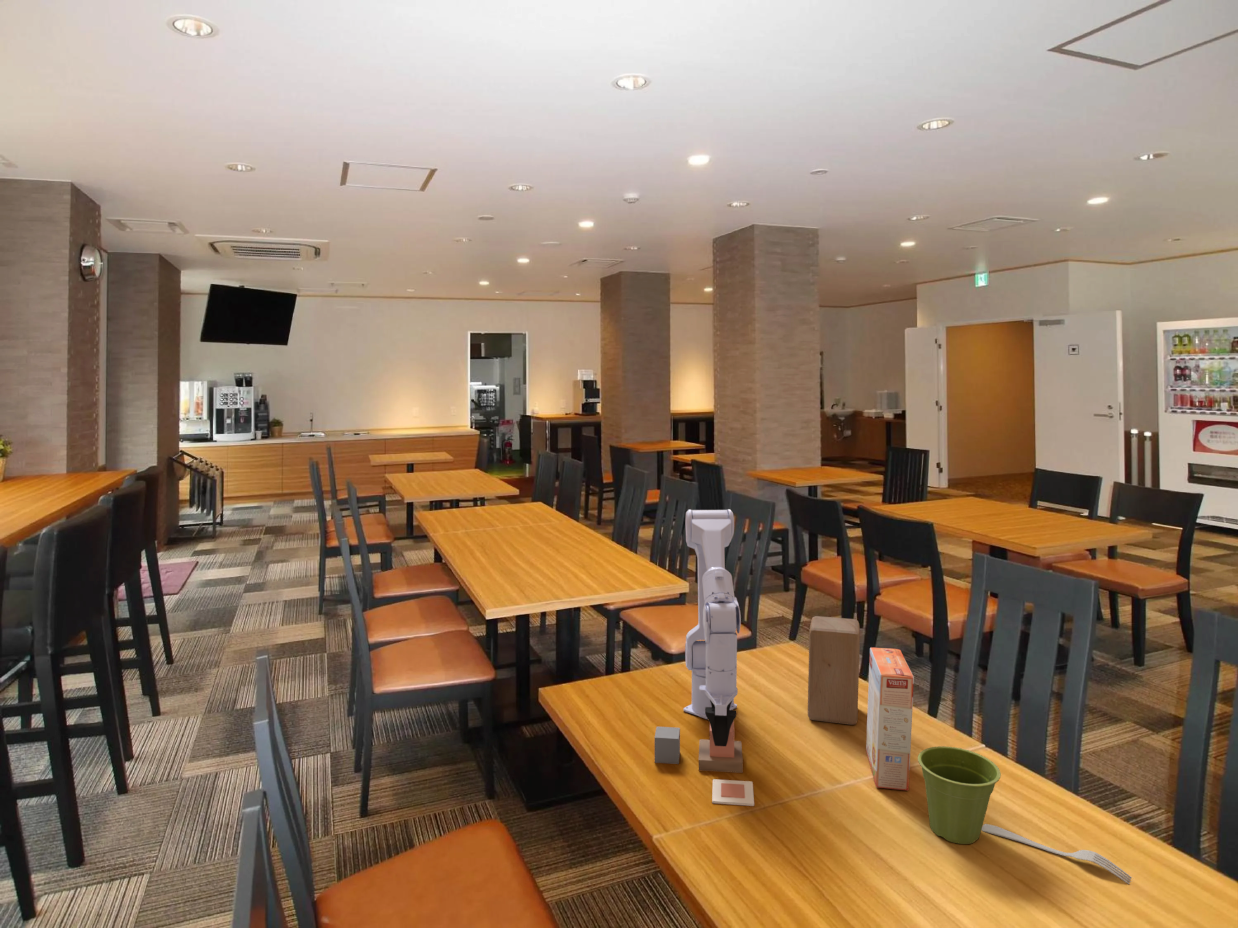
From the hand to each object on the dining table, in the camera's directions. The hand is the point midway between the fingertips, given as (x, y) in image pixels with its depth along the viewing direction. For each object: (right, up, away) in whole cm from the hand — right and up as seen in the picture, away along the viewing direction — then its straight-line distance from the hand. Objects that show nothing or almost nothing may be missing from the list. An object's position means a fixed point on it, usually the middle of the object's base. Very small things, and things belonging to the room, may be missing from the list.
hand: (720, 735), depth 141 cm
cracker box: (+30, -5, -3) cm, 31 cm away
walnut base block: (0, -5, +1) cm, 6 cm away
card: (+1, -6, -11) cm, 12 cm away
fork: (+46, -8, -27) cm, 55 cm away
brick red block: (0, -3, 0) cm, 3 cm away
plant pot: (+34, -8, -22) cm, 41 cm away
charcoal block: (-10, -5, +2) cm, 11 cm away
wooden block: (+27, -3, +20) cm, 33 cm away
